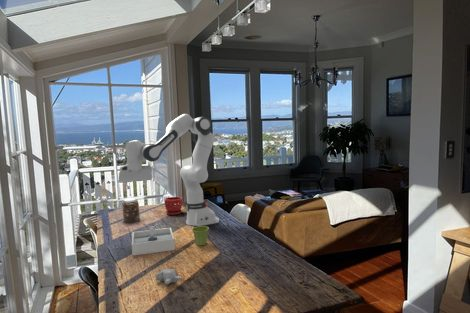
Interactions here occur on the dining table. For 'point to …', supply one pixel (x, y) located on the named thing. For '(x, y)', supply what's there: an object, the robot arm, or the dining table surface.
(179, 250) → the dining table surface
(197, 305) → the dining table surface
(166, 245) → the box
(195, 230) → the plant pot
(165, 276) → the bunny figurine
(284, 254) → the dining table surface
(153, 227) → the peg
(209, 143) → the robot arm
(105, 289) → the dining table surface
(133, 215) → the jar
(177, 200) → the plant pot
